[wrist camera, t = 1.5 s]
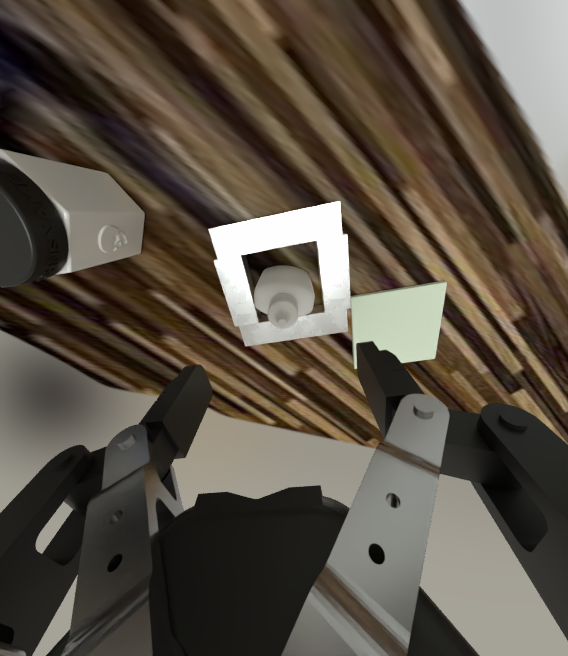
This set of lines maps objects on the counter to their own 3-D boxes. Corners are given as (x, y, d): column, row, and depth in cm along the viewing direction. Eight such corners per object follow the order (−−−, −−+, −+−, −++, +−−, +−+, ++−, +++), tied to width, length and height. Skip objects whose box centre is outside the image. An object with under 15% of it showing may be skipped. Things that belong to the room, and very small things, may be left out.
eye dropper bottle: (294, 305, 28) (296, 361, 17) (256, 281, 27) (233, 325, 16) (315, 277, 26) (332, 320, 16) (276, 249, 25) (265, 276, 14)
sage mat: (349, 296, 27) (351, 297, 27) (443, 280, 26) (447, 282, 25) (353, 366, 32) (354, 368, 32) (432, 356, 31) (434, 358, 30)
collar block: (211, 228, 24) (203, 230, 22) (340, 201, 22) (345, 199, 20) (245, 337, 30) (241, 347, 28) (347, 321, 29) (352, 330, 27)
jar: (141, 271, 26) (42, 310, 16) (69, 244, 25) (-92, 266, 15) (150, 191, 23) (25, 171, 12) (65, 154, 21) (-160, 94, 11)
